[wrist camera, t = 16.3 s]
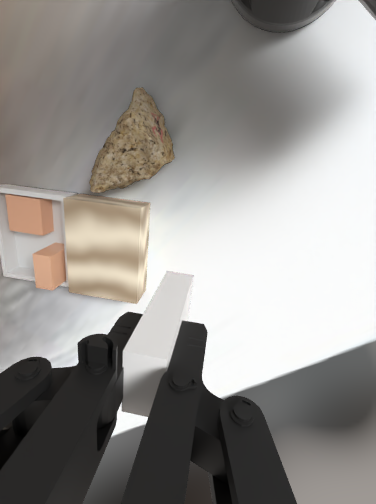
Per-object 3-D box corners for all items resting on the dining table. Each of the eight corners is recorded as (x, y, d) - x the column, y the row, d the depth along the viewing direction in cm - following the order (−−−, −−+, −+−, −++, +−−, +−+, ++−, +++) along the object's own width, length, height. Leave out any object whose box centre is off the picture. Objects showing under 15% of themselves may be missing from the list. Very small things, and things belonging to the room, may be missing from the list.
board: (80, 193, 45) (63, 198, 41) (150, 202, 44) (140, 208, 39) (83, 279, 51) (69, 292, 46) (145, 289, 50) (136, 303, 45)
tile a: (39, 199, 43) (51, 196, 46) (5, 194, 43) (18, 192, 46) (42, 235, 45) (53, 230, 48) (9, 230, 46) (22, 225, 48)
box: (6, 184, 47) (-11, 186, 43) (77, 193, 45) (65, 196, 42) (17, 268, 52) (3, 276, 49) (81, 279, 51) (71, 287, 48)
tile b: (71, 244, 48) (55, 242, 48) (50, 256, 43) (32, 253, 43) (72, 275, 50) (57, 272, 51) (53, 290, 45) (36, 287, 45)
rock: (188, 176, 36) (137, 111, 29) (118, 219, 41) (60, 172, 34) (182, 135, 43) (140, 76, 36) (123, 176, 48) (76, 130, 41)
